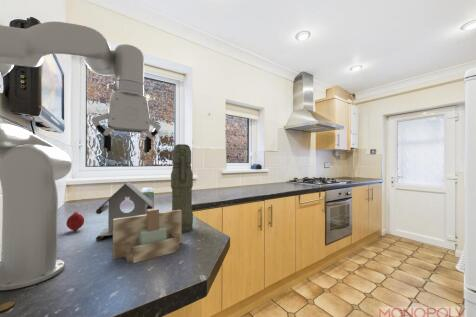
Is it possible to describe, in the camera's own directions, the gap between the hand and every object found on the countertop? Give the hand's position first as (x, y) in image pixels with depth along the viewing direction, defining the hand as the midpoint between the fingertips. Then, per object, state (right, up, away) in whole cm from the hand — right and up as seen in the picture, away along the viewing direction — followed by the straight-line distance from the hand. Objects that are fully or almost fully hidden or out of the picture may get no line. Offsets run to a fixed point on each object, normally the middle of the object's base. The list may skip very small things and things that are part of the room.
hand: (128, 151), depth 58 cm
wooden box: (+5, -30, +4) cm, 31 cm away
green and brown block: (+5, -29, +4) cm, 30 cm away
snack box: (-14, -32, +44) cm, 56 cm away
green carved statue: (+8, -31, +27) cm, 42 cm away
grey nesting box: (-12, -32, +22) cm, 40 cm away
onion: (-36, -32, +27) cm, 55 cm away
